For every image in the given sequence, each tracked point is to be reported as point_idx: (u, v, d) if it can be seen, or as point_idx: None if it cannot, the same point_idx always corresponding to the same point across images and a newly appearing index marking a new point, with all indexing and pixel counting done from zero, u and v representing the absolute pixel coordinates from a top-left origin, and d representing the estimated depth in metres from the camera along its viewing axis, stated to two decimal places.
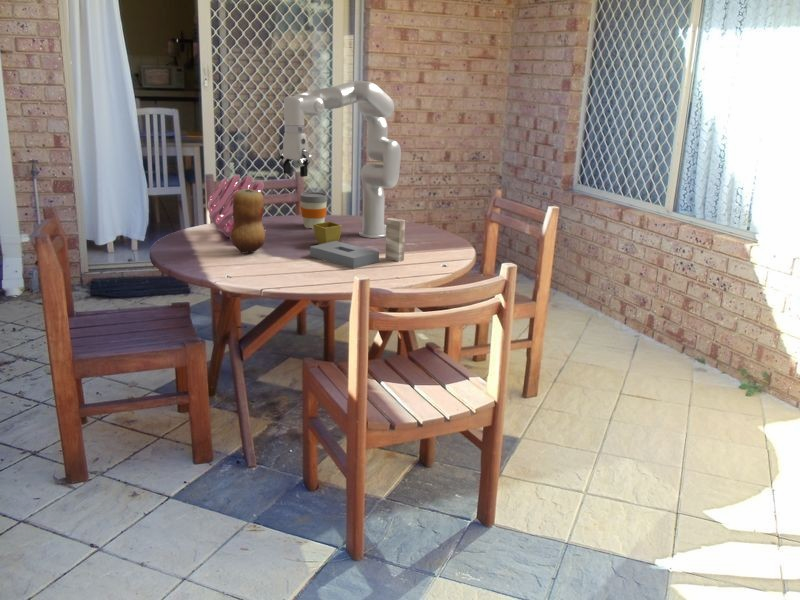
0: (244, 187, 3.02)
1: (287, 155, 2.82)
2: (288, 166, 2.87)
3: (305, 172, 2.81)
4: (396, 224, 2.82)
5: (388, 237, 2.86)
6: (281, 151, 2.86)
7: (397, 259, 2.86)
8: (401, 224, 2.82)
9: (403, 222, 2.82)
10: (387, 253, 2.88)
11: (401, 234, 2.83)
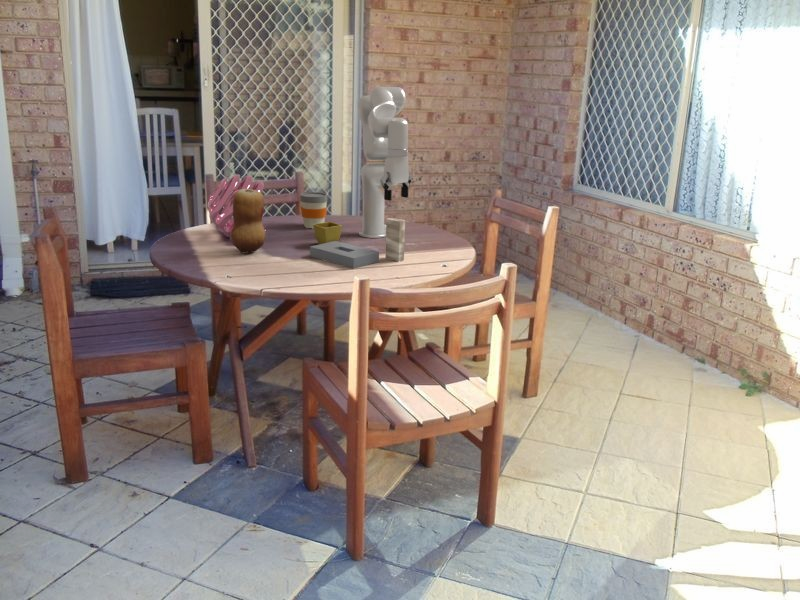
0: (244, 187, 3.02)
1: (397, 180, 2.76)
2: None
3: None
4: (396, 224, 2.82)
5: (388, 237, 2.86)
6: (385, 178, 2.73)
7: (397, 259, 2.86)
8: (401, 224, 2.82)
9: (403, 222, 2.82)
10: (387, 253, 2.88)
11: (401, 234, 2.83)
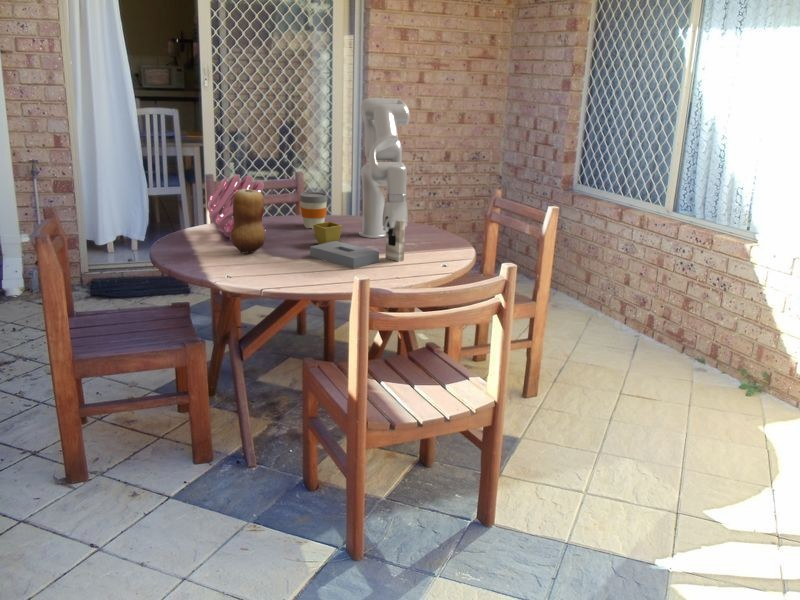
0: (244, 187, 3.02)
1: (396, 224, 2.81)
2: None
3: None
4: None
5: (388, 237, 2.86)
6: (387, 227, 2.80)
7: (397, 259, 2.86)
8: (401, 224, 2.81)
9: (403, 222, 2.82)
10: (387, 253, 2.88)
11: (401, 234, 2.83)
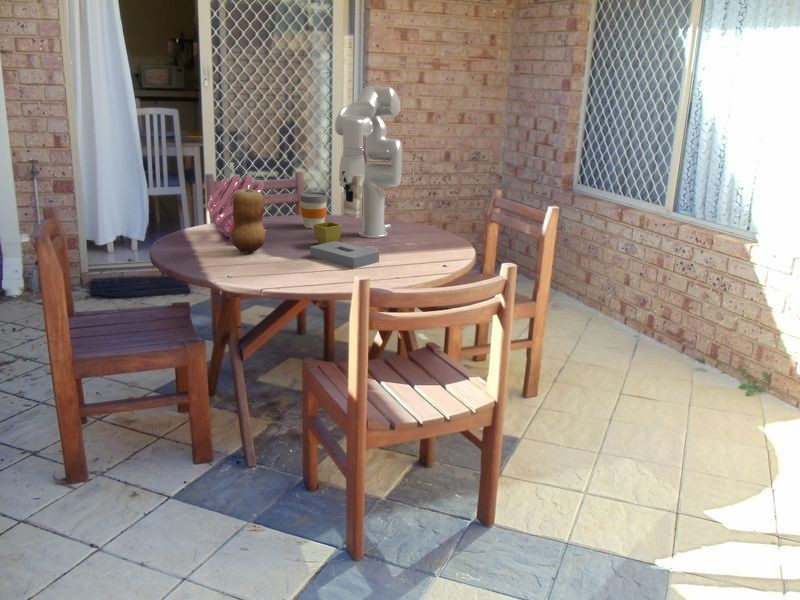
0: (244, 187, 3.02)
1: (353, 179, 2.75)
2: None
3: None
4: (354, 179, 2.75)
5: (345, 193, 2.79)
6: (343, 182, 2.73)
7: (355, 215, 2.79)
8: (358, 179, 2.75)
9: (360, 177, 2.76)
10: (345, 210, 2.82)
11: (358, 189, 2.76)
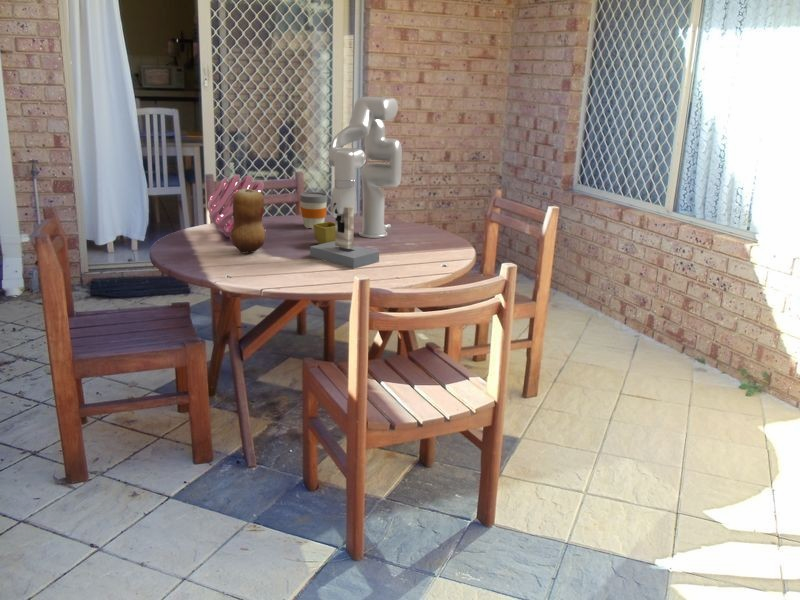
0: (244, 187, 3.02)
1: (344, 210, 2.78)
2: None
3: None
4: None
5: (337, 224, 2.83)
6: (335, 213, 2.77)
7: (346, 246, 2.83)
8: (349, 211, 2.79)
9: (352, 209, 2.79)
10: (337, 240, 2.85)
11: (349, 221, 2.80)
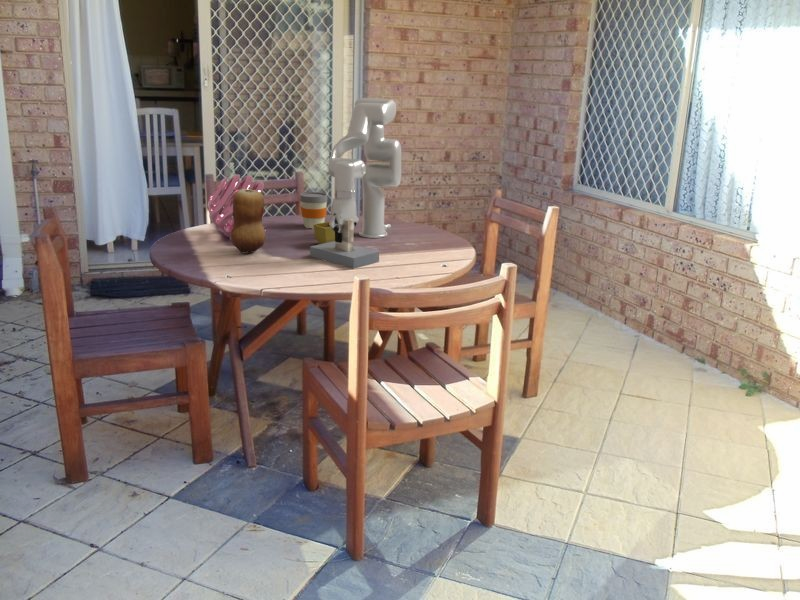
0: (244, 187, 3.02)
1: (344, 221, 2.80)
2: None
3: None
4: (345, 223, 2.80)
5: None
6: (333, 222, 2.77)
7: None
8: (349, 223, 2.80)
9: (351, 221, 2.81)
10: None
11: (349, 233, 2.81)
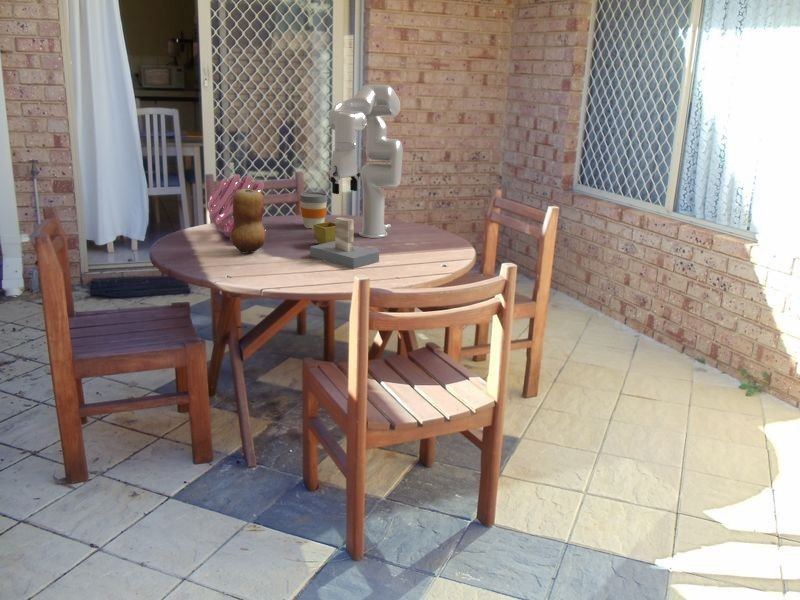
0: (244, 187, 3.02)
1: (345, 173, 2.75)
2: None
3: None
4: (345, 223, 2.80)
5: (337, 236, 2.85)
6: (332, 172, 2.71)
7: None
8: (349, 223, 2.80)
9: (352, 221, 2.81)
10: None
11: (349, 233, 2.81)
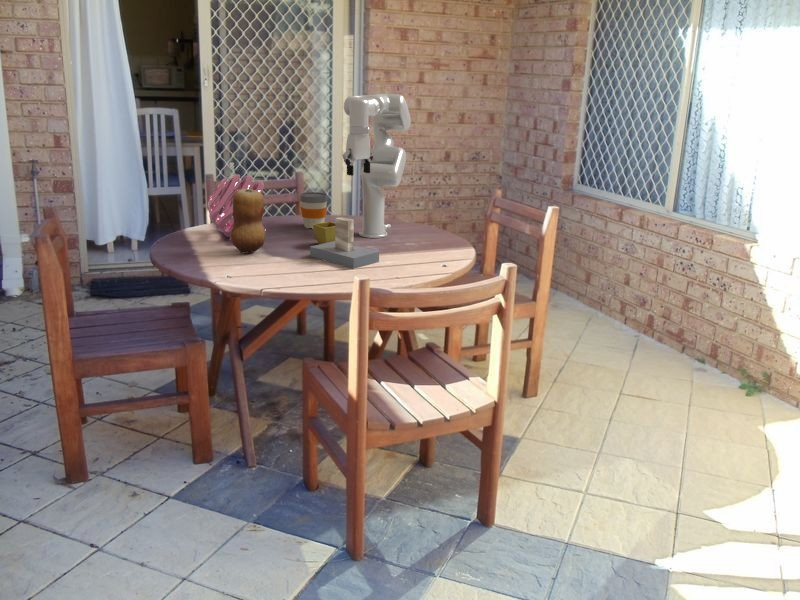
0: (244, 187, 3.02)
1: (359, 156, 2.92)
2: None
3: None
4: (345, 223, 2.80)
5: (337, 236, 2.85)
6: (346, 154, 2.89)
7: None
8: (349, 223, 2.80)
9: (352, 221, 2.81)
10: None
11: (349, 233, 2.81)
